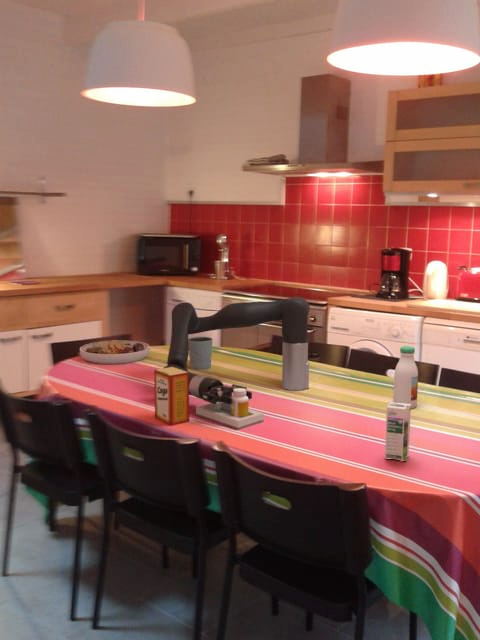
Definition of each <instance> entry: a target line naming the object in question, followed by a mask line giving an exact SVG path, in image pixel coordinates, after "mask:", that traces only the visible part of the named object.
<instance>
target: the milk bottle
mask: <svg viewBox="0 0 480 640" xmlns="http://www.w3.org/2000/svg"><path fill="white" fill-rule="evenodd" d="M415 349H416V348H415V347H414V346H409V345H408V346H406V345H404V346H401V347H400V349H399V351H400V352H399V353H400V357H399V360H398V362H397V364H396V366H395V370H394V376H393V397H392V398H393V400H392V402H393V403H403V404H411V409H414V408H417V406H418V404H417V403H418V386H419V372H418V366H417V363H416V362H415V358H414V356H415V351H416V350H415Z"/></svg>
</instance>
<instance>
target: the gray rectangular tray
mask: <svg viewBox="0 0 480 640" xmlns="http://www.w3.org/2000/svg"><path fill="white" fill-rule="evenodd" d="M248 412H249V413H248V414H249V416H246V417H243V418H238V417H235V416H231V405H229V404H225V403H218V402H217V403H216V404H213V403H210V402H209V403H208V404H203V405H199V406H196V407H195V416H197V417H200V418H203V419H206V420H207V421H211V422H215V423H218V424H220V425H224V426H226V427H229V428H232V429H235V430H241V429H244V428H247V427H251V426H253V425H257V424H259V423H260V424H261V423H263V422H264V412H260V411H257V410H254V409H250V408H249V411H248Z"/></svg>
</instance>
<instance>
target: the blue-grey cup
mask: <svg viewBox="0 0 480 640" xmlns="http://www.w3.org/2000/svg"><path fill="white" fill-rule="evenodd" d="M188 341H189V354H188V359H189V365H190V366H189V367H190V369H192V370H196V371H197V370H198V371H205V370H208V369H211V367H212V357H213V356H212V355H213V354H212V353H213V352H212V349H213V338H212V337H210V336H193V337H188Z"/></svg>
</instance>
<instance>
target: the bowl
mask: <svg viewBox="0 0 480 640" xmlns="http://www.w3.org/2000/svg"><path fill="white" fill-rule="evenodd" d="M79 353H80V356H81V357H82V358H83V359H84V360H85V361H86V362H89V363H92V364H93V363H94V364H99V365H123V364H130V363H135V362H138V361H141V360H143V359H144V358H146V357H147V356H148V355H149V353H150V345H149V344H148V343H145V342H142V341H137V340H136V341H135V340H125V339H124V340H122V339H120V340H119V339H112V340H102V341H94V342H91V343H86V344H84V345H82V346H80V347H79Z"/></svg>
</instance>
